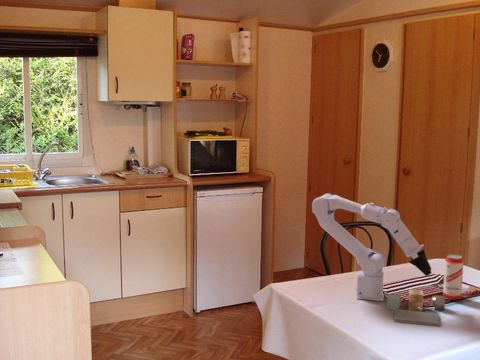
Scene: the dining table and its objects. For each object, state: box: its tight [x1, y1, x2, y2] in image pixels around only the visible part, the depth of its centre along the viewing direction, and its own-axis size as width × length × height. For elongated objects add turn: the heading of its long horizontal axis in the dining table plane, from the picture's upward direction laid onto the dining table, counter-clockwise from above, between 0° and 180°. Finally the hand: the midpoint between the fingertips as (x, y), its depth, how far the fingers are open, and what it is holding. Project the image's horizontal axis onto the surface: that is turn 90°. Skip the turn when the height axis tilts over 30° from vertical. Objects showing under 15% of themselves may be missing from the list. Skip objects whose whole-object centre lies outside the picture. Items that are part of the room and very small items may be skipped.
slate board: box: [393, 309, 440, 327], centre depth 183 cm, size 14×8×1 cm, turn 74°
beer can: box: [442, 253, 464, 300], centre depth 199 cm, size 6×6×16 cm
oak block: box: [408, 289, 424, 312], centre depth 191 cm, size 4×4×6 cm
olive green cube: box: [386, 293, 401, 311], centre depth 193 cm, size 4×4×4 cm
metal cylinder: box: [430, 294, 446, 312], centre depth 191 cm, size 4×4×4 cm
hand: (429, 272), depth 191 cm, fingers open, 7 cm apart
